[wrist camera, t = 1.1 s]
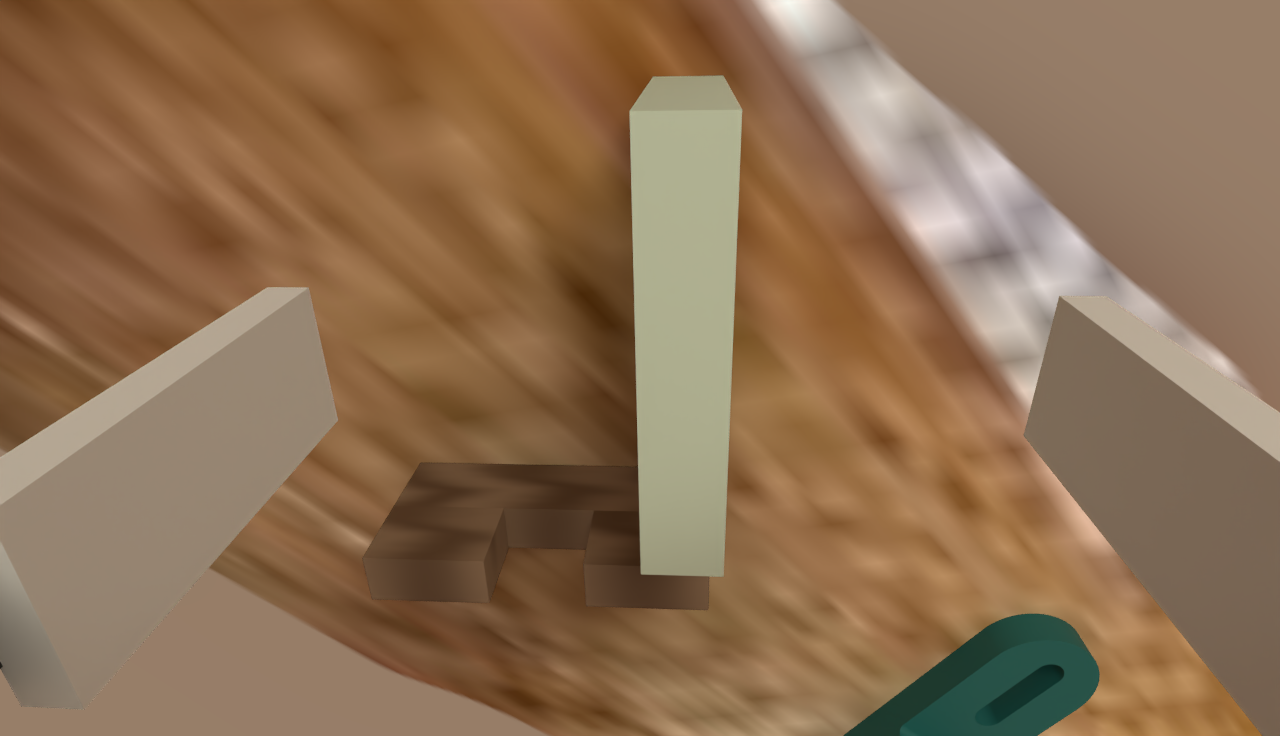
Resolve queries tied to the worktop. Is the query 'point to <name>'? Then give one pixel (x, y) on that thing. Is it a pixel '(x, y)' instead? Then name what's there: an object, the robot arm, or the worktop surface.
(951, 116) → the worktop surface
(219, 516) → the robot arm
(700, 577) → the walnut slotted plate
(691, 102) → the sage slotted plate
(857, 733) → the bracket
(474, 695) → the worktop surface
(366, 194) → the worktop surface
